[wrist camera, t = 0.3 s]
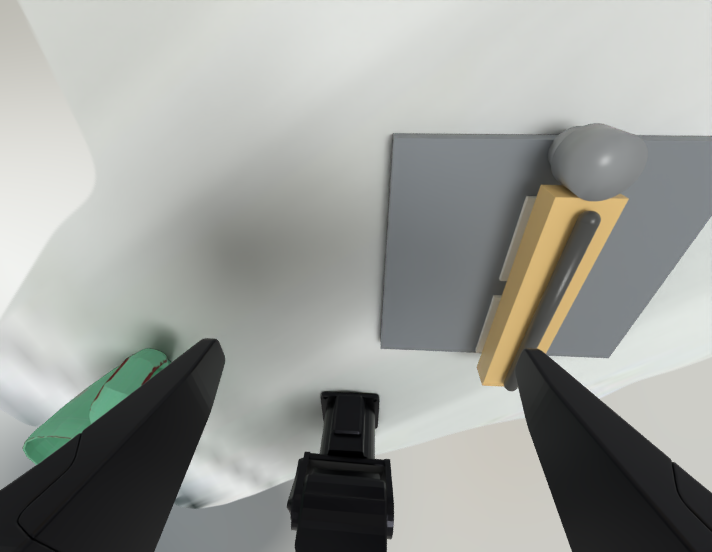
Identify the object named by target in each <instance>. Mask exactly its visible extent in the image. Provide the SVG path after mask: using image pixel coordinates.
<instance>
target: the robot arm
mask: <svg viewBox="0 0 712 552" xmlns="http://www.w3.org/2000/svg"><path fill="white" fill-rule="evenodd" d="M224 364H225V356H224V353H223V350H222V348H221V345H220V343H219V341H218V340H217V339H211V338H205V339H202V340H200V341H199V342H198V343H196V344H195V345H194V346H192V347H191V348H190V349H189V350H187V351H186V352H185V353H183V354H182V355H181V356H179V357H178V358H177V359H175V360H174V361H173V362H172V363H170V364H169V365H168V366H166V367H165V368H164V369H162V370H161V371H160V372H159V373H157V374H156V375H155V376H153V377H152V378H151V379H149V380H148V381H147V382H145V383H144V384H143V385H142V386H140V387H139V388H138V389H136V390H135V391H134V392H132V393H131V394H130V395H128V396H127V397H126V398H125V399H123V400H122V401H121V402H119V403H118V404H117V405H115V406H114V407H113V408H111V409H110V410H109V411H108V412H106V413H105V414H104V415H102V416H101V417H100V418H98V419H97V420H96V421H94V422H93V423H92V424H91V425H89V426H88V427H87V428H85V429H84V430H83V431H82V433H79V434H77V435H76V436H75V437H73V438H72V439H71V440H70V441H68V442H67V443H66V444H64V445H63V446H62V447H60V448H59V449H58V450H56V451H55V452H54V453H52V454H51V455H49V456H48V457H47V458H45V459H44V460H43V461H41V462H40V463H39V464H37V465H36V466H34V467H33V468H32V469H30V470H29V471H27V472H26V473H25V474H23V475H22V476H20V477H19V478H17V479H16V480H14V481H13V482H12V483H10V484H9V485H7V486H6V487H4V488H3V489H1V490H0V552H154V551H155V548H156V546H157V543H158V541H159V539H160V536H161V534H162V531H163V528H164V526H165V524H166V521H167V519H168V516H169V514H170V511H171V509H172V506H173V504H174V502H175V499H176V497H177V494H178V492H179V489H180V487H181V484H182V482H183V479H184V477H185V474H186V472H187V470H188V467H189V465H190V462H191V460H192V457H193V455H194V452H195V450H196V447H197V445H198V442H199V440H200V437H201V435H202V433H203V430H204V428H205V425H206V423H207V420H208V418H209V415H210V412H211V409H212V406H213V403H214V399H215V396H216V392H217V389H218V385H219V382H220V378H221V375H222V371H223V368H224ZM515 376H516V380H517V384H518V389H519V393H520V397H521V401H522V405H523V410H524V414H525V418H526V422H527V425H528V429H529V432H530V435H531V437H532V440H533V443H534V446H535V449H536V452H537V454H538V457H539V460H540V463H541V466H542V468H543V471H544V474H545V477H546V480H547V482H548V485H549V488H550V490H551V494H552V497H553V499H554V502H555V505H556V508H557V511H558V513H559V516H560V519H561V522H562V524H563V528H564V530H565V533H566V536H567V539H568V541H569V544H570V547H571V549H572V552H712V493H711V492H710V491H709V490H707V489H706V488H705V487H704V486H702V485H701V484H700V483H699V482H698V481H696V480H695V479H694V478H693V477H692V476H690V475H689V474H688V473H687V472H686V471H684V470H683V469H682V468H681V467H679V465H677V464H676V463H675V462H672V461H671V459H670V458H669V457H668V456H666V455H665V454H664V453H663V452H662V451H660V450H659V449H658V448H657V447H656V446H655V445H653V444H652V443H651V442H650V441H649V440H647V439H646V438H645V437H644V436H643V435H641V434H640V433H639V432H638V431H637V430H635V429H634V428H633V427H632V426H631V425H630V424H628V423H627V422H626V421H625V420H623V419H622V418H621V417H620V416H619V415H618V414H616V413H615V412H614V411H613V410H612V409H611V408H609V407H608V406H607V405H606V404H605V403H603V402H602V401H601V400H600V399H599V398H597V397H596V396H595V395H594V394H593V393H591V392H590V391H589V390H588V389H587V388H586V387H584V386H583V385H582V384H581V383H580V382H578V381H577V380H576V379H575V378H574V377H572V376H571V375H570V374H569V373H568V372H566V371H565V370H564V369H563V368H562V367H561V366H559V365H558V364H557V363H556V362H555V361H553V360H552V359H551V358H550V357H549V356H547V355H546V354H545V353H544V352H543V351H541V350H540V349H533V348H525V349H523V350H522V352H521V354H520V356H519V359H518V361H517V363H516V366H515ZM321 404H322V412H323V420H324V427H323V434H322V440H321V447H320V454H315V453H310V452H305V453H304V457H303V458H301V459H299V461H298V466H297V471H296V476H295V480H294V483H293V486H292V490H291V492H290V496H289V499H288V503H287V508H288V510H289V512H290V514H291V530H296V531H297V534H296V540H295V550H296V552H387V539H392V535H393V525H394V503H393V502H394V501H393V488H392V477H391V467H390V466H391V465H390V459H384V460H381V459H375V429H376V428H377V427H378V415H379V396H378V395H373V394H352V393H332V392H323V393H322V394H321Z"/></svg>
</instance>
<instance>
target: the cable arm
mask: <svg viewBox="0 0 712 552" xmlns="http://www.w3.org/2000/svg"><path fill="white" fill-rule="evenodd" d="M647 158H648V150H647V146H646V144H645V142H644V141H643V140H642V139H641V138H640V137H638V136H636V135H634V134H631V133H628V132H625V131H622V130H619V129H617V128H614V127H611V126H608V125H605V124H600V123H594V124H588V125H585V126H582V127H580V128H578V129H576V130H574V131H573V132H571V133H570V134H569V135H568V136H566V137H565V138H564V139H563V140H562V141H561V143H560V144H559V145H558V147H557V148H556V150H555V152H554V154H553V157H552V161H551V171H552V174H553V176H554V178H555V179H556V180H557V181H558V182H559V183H561V184H562V185H541V186H540V189H539V191H538V194H537V197H536V200H535V203H534V206H533V208H532V211H531V214H530V217H529V220H528V223H527V226H526V228H525V231H524V234H523V237H522V240H521V243H520V245H519V248H518V251H517V254H516V257H515V260H514V263H513V265H512V268H511V271H510V274H509V277H508V280H507V282H506V285H505V288H504V291H503V294H502V297H501V300H500V302H499V305H498V308H497V311H496V314H495V317H494V319H493V322H492V325H491V328H490V331H489V334H488V337H487V339H486V342H485V345H484V348H483V351H482V354H481V356H480V359H479V362H478V365H477V370H478V373H479V376H480V379H481V383H482V385H484V386H504V387H505V388H506V389H507V390H508V391H515V390H516V389H517V388H518V384H517V380H516V376H515V366H516V363H517V361H518V359H519V356H520V354H521V352H522V350H523V349H525V348H533V349H540V350H541V351H543V352H544V353H545V354H546V353H547V351H548V349H549V347H550V345H551V343H552V341H553V340H554V338H555V336H556V334H557V332H558V330H559V328H560V326H561V325H562V323H563V321H564V319H565V317H566V315H567V313H568V311H569V310H570V308H571V306H572V304H573V302H574V300H575V298H576V297H577V295H578V293H579V291H580V289H581V287H582V285H583V283H584V282H585V280H586V278H587V276H588V274H589V272H590V270H591V269H592V267H593V265H594V263H595V261H596V259H597V257H598V255H599V254H600V252H601V250H602V248H603V246H604V244H605V242H606V240H607V239H608V237H609V235H610V233H611V231H612V229H613V227H614V226H615V224H616V222H617V220H618V218H619V216H620V214H621V212H622V211H623V209H624V207H625V205H626V203H627V201H628V199H629V198H627V197H625V196H624V195H622V194H620V193H622V192H623V191H625V190H626V189H627V188H629V187H630V186H631V185H632V184H633V183H634V182H635V181H636V180H637V179H638V177H639V176H640V175H641V173H642V171H643V170H644V168H645V165H646V162H647Z"/></svg>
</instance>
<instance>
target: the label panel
mask: <svg viewBox="0 0 712 552" xmlns="http://www.w3.org/2000/svg"><path fill="white" fill-rule="evenodd" d="M580 127H582V126H576V127H572V128H569V129H567V130H565V131H563V132H562V133H561V134H559V135H526V134H406V133H393V146H392V162H391V178H390V195H389V211H388V227H387V244H386V260H385V276H384V293H383V309H382V326H381V349H402V350H426V351H450V352H474V353H482V351H483V348H484V345H485V342H486V339H487V337H488V334H489V331H490V328H491V325H492V322H493V319H494V317H495V314H496V311H497V308H498V305H499V302H500V300H501V297H502V294H503V291H504V288H505V285H506V282H507V280H508V277H509V274H510V271H511V268H512V265H513V263H514V260H515V257H516V254H517V251H518V248H519V245H520V243H521V240H522V237H523V234H524V231H525V228H526V226H527V223H528V220H529V217H530V214H531V211H532V208H533V206H534V203H535V200H536V197H537V194H538V191H539V189H540V186H541V185H562V184H561V183H559V182H558V181H557V180H556V179H555V178H554V176H553V174H552V171H551V161H552V157H553V154H554V152H555V150H556V148H557V147H558V145H559V144H560V143H561V141H562V140H563V139H564V138H565V137H566V136H568V135H569V134H570V133H571V132H573V131H574V130H576V129H578V128H580ZM636 136H638V137H640V138H641V139H642V140H643V141H644V142H645V144H646V146H647V150H648V158H647V162H646V165H645V168H644V170H643V171H642V173H641V175H640V176H639V177H638V179H637V180H636V181H635V182H634V183H633V184H632V185H631V186H630V187H629V188H627V189H626V190H625V191H623V192H622V193H620V194H622V195H624V196H625V197H627V198H629V199H628V201H627V203H626V205H625V207H624V209H623V211H622V212H621V214H620V216H619V218H618V220H617V222H616V224H615V226H614V227H613V229H612V231H611V233H610V235H609V237H608V239H607V240H606V242H605V244H604V246H603V248H602V250H601V252H600V254H599V255H598V257H597V259H596V261H595V263H594V265H593V267H592V269H591V270H590V272H589V274H588V276H587V278H586V280H585V282H584V283H583V285H582V287H581V289H580V291H579V293H578V295H577V297H576V298H575V300H574V302H573V304H572V306H571V308H570V310H569V311H568V313H567V315H566V317H565V319H564V321H563V323H562V325H561V326H560V328H559V330H558V332H557V334H556V336H555V338H554V340H553V341H552V343H551V345H550V347H549V349H548V351H547V353H546V355H547V356H570V357H594V358H609V357H610V356H611V354H612V353H613V351H614V350H615V349H616V347H617V346H618V344H619V343H620V342H621V340H622V339H623V338H624V336H625V335H626V333H627V332H628V331H629V329H630V328H631V326H632V325H633V324H634V322H635V321H636V320H637V318H638V317H639V315H640V314H641V313H642V311H643V310H644V309H645V307H646V306H647V304H648V303H649V302H650V300H651V299H652V297H653V296H654V295H655V293H656V292H657V291H658V289H659V288H660V286H661V285H662V284H663V282H664V281H665V279H666V278H667V277H668V275H669V274H670V273H671V271H672V270H673V268H674V267H675V266H676V264H677V263H678V261H679V260H680V259H681V257H682V256H683V255H684V253H685V252H686V250H687V249H688V248H689V246H690V245H691V244H692V242H693V241H694V239H695V238H696V237H697V235H698V234H699V232H700V231H701V230H702V228H703V227H704V226H705V224H706V223H707V221H708V220H709V219H710V217H711V216H712V136H646V135H636Z"/></svg>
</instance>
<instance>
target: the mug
mask: <svg viewBox="0 0 712 552" xmlns="http://www.w3.org/2000/svg"><path fill="white" fill-rule="evenodd" d="M170 363H172V362H170V361H169V360H167V357H166V355H165V354H163V353H162V352H160V351H158V350H154V349H143V350H141V351H139V352H137V353H136V354H134V355H132V356H130V357H129V358H127V359H126V360H125V361H124V362H123V363H122V364H121V365H120V366H118V367H117V368H115V369H113V370H112V371H110V372H109V373H108V374H106V375H105V376H103V377H102V378H100V379H99V380H98V381H96V382H95V383H93V384H92V385H90V386H89V387H88V388H86V389H85V390H84V391H82V392H81V393H80V394H79V395H77V396H76V397H75V398H74V399H72V400H71V401H70V402H68V403H67V404H66V405H65V406H64V407H62V408H61V409H60V410H59V411H58V412H57V413H55V414H54V415H53V416H52V417H51V418H50V419H48V420H47V421H46V422H45V423H44V424H42V425H41V426H40V427H39V428H38V429H37V430H36V431H34V433H32V434H31V436H30V437H29V438H28V439H27V440H26V441H25V443H24V446H23V451H24V452H25V454H26V456H27V457H28V458H29V459H30V460H31V461H32V462H34V463H35V464H36V465H37V464H39V463H40V462H41V461H43V460H44V459H45V458H47V457H48V456H49V455H51V454H52V453H54V452H55V451H56V450H58V449H59V448H60V447H62V446H63V445H64V444H66V443H67V442H68V441H70V440H71V439H72V438H73V437H75V436H76V435H77V434H79V433H82V431H83V430H84V429H85V428H87V427H88V426H89V425H91V424H92V423H93V422H94V421H96V420H97V419H98V418H100V417H101V416H102V415H104V414H105V413H106V412H108V411H109V410H110V409H111V408H113V407H114V406H115V405H117V404H118V403H119V402H121V401H122V400H123V399H125V398H126V397H127V396H128V395H130V394H131V393H132V392H134V391H135V390H136V389H138V388H139V387H140V386H142V385H143V384H144V383H145V382H147V381H148V380H149V379H151V378H152V377H153V376H155V375H156V374H157V373H159V372H160V371H161V370H162V369H164V368H165V367H166V366H168V365H169V364H170Z"/></svg>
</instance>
